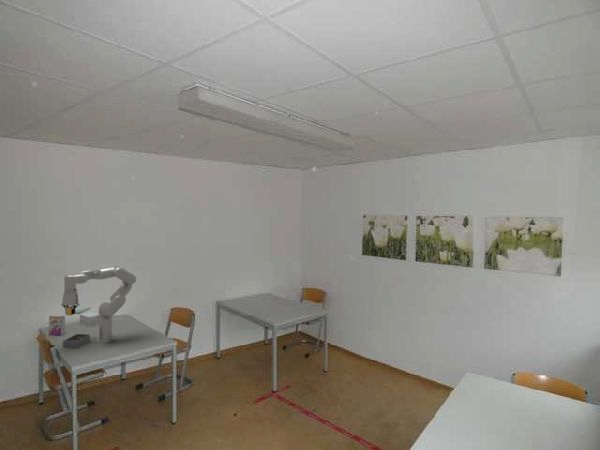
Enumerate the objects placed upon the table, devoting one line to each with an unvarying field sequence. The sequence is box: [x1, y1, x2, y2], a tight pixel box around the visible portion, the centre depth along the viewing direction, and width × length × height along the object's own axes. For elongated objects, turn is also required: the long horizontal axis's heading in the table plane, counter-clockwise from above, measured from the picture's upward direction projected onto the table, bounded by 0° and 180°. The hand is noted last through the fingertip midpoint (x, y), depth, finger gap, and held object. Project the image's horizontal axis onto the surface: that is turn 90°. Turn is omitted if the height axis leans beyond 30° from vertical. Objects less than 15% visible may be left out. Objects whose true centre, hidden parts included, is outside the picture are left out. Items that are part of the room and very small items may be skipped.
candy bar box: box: [48, 314, 66, 336], centre depth 305 cm, size 11×5×16 cm, turn 84°
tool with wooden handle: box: [65, 305, 92, 316], centre depth 284 cm, size 21×10×7 cm, turn 179°
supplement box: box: [79, 311, 99, 328], centre depth 336 cm, size 17×13×9 cm
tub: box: [62, 333, 91, 349], centre depth 283 cm, size 16×11×6 cm
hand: (70, 313), depth 276 cm, fingers closed on tool with wooden handle, 4 cm apart
